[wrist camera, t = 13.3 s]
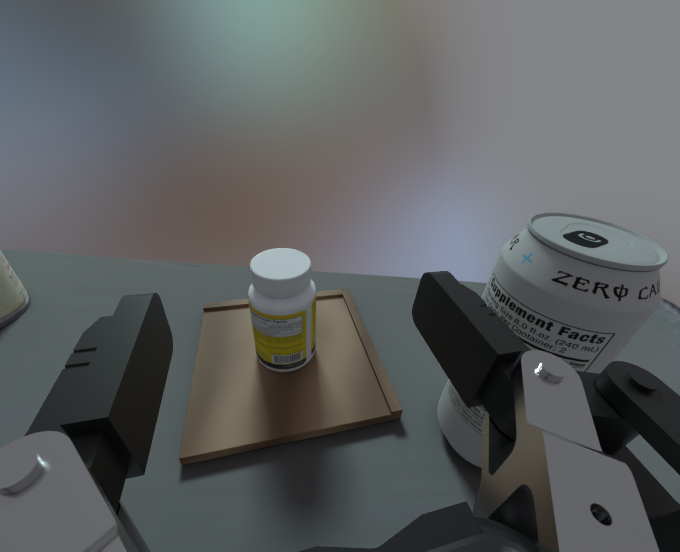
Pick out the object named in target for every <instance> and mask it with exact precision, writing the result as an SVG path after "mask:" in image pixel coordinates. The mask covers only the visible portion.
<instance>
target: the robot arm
mask: <svg viewBox="0 0 680 552" xmlns="http://www.w3.org/2000/svg"><path fill="white" fill-rule="evenodd" d="M412 316H413V320H414V323H415V325H416V327H417V329H418V330H419V332H420V333H421V335H422V337H423V338H424V340H425V341H426V343H427V345H428V346H429V348H430V349H431V351H432V353H433V354H434V356H435V357H436V359H437V360H438V362H439V364H440V365H441V367H442V368H443V370H444V372H445V373H446V375H447V376H448V378H449V380H450V381H451V383H452V384H453V386H454V388H455V389H456V391H457V392H458V394H459V396H460V397H461V399H462V400H463V402H464V404H465V405H466V407H467V408H471V407H476V406H481V405H483V407H484V408H485V410H486V413H485V414H484V417H483V439H482V471H481V483H480V487H479V490H478V493H477V496H476V499H475V503H474V509H473V513H472V511H471V509H470V507H469V505H468V503H467V501H466V502H463V503H459V504H456V505H453V506H449V507H446V508H443V509H439V510H436V511H433V512H429V513H426V514H423V515H421V516H420V517H418V518H417V519H416V520H414V521H413V522H412V523H410V524H409V525H408V526H406V527H405V528H404V529H402V530H401V531H400V532H398V533H397V534H396V535H394V536H393V537H392V538H390V539H389V540H388V541H387V542H385V543H384V544H383V545H381V546H379V547H377V548H373V549H366V548H342V547H318V546H316V547H313V548H309V549H306V550H303V551H299V552H680V504H679V503H678V502H676V501H675V500H674V499H673V497H672V496H671V495H670V494H669V493H668V492H667V491H666V490H665V489H664V488H663V486H662V485H661V484H660V483H659V482H658V481H657V480H656V479H655V478H654V477H653V475H652V474H651V473H650V472H649V471H648V470H647V469H646V468H645V467H644V466H643V464H642V463H641V462H640V461H639V460H638V459H637V458H636V457H635V456H634V455H633V454H632V452H631V451H630V450H629V449H628V448H627V447H626V446H625V445H627V444H628V443H629V442H630V441H632V440H633V439H634V438H635V437H637V436H638V435H639V434H640V435H641V436H642V437H643V438H644V439H645V440H646V441H647V442H648V443H649V444H650V445H651V446H652V447H653V448H654V449H655V450H656V451H657V452H658V453H659V454H660V455H661V456H662V457H663V459H664V460H665V461H666V462H667V463H668V464H669V465H670V466H671V467H672V468H673V469H674V470H675V471H676V472H677V473H678V474H679V475H680V396H679V395H678V394H677V393H675V392H674V391H673V390H672V389H671V388H669V387H668V386H667V385H666V384H665V383H663V382H662V381H661V380H660V379H658V378H657V377H656V376H654V375H653V374H651V373H650V372H648V371H646V370H644V369H642V368H640V367H638V366H636V365H633V364H630V363H627V362H621V361H614V362H611V363H609V364H608V365H607V366H606V367H605V369H604V370H603V371H602V372H601V373H600V374H598V373H591V372H583V371H576V370H574V369H573V368H572V367H571V366H570V365H569V364H568V363H566V362H565V361H563V360H562V359H560V358H559V357H557V356H555V355H553V354H550V353H548V352H544V351H539V350H531V349H530V348H529V347H528V346H527V345H526V344H525V343H524V342H523V341H522V340H521V339H520V338H519V337H518V336H517V335H516V334H515V333H514V332H513V331H512V330H511V329H510V328H509V327H508V326H507V325H506V323H505V322H504V321H503V320H502V319H501V318H500V317H499V316H496V313H495V312H494V311H493V310H492V309H491V308H490V307H489V306H488V307H487V304H486V303H485V302H484V301H483V299H482V298H481V297H480V296H479V295H478V294H477V293H475V292H474V291H472V290H470V289H469V288H467V287H466V286H464V285H461V284H460V283H459V282H458V281H457V280H456V279H455V278H454V276H453V275H452V274H451V273H449V272H448V271H440V272H428V273H424V274H423V276H422V278H421V281H420V284H419V287H418V291H417V294H416V297H415V301H414V304H413V308H412ZM172 351H173V339H172V333H171V330H170V327H169V324H168V321H167V318H166V314H165V311H164V308H163V305H162V302H161V299H160V297H159V295H158V294H157V293H151V294H138V295H126V296H123V297H122V298H121V300H120V302H119V304H118V306H117V308H116V310H115V312H114V314H113V316H107V317H101V318H99V319H98V320H97V321H96V322H95V323H94V324H93V325H92V326H90V327H89V328H88V329H87V330H86V331H85V332H84V333H83V334H82V336H81V338H80V339H79V341H78V343H77V345H76V347H75V348H74V353H73V354H71V355H70V357H69V359H68V361H67V363H66V364H65V369H63V370H62V371H61V373H60V375H59V377H58V379H57V380H56V382H55V384H54V386H53V387H52V389H51V391H50V393H49V394H48V396H47V398H46V400H45V402H44V403H43V405H42V407H41V409H40V410H39V412H38V414H37V416H36V418H35V419H34V421H33V423H32V425H31V426H30V428H29V430H28V431H27V433H26V435H25V436H24V437H22V438H20V439H17V440H15V441H14V442H12V443H10V444H8V445H6V446H5V447H3V448H1V449H0V552H150V550H149V548H148V547H147V545H146V543H145V541H144V540H143V538H142V536H141V535H140V533H139V531H138V530H137V528H136V526H135V524H134V523H133V521H132V519H131V518H130V516H129V514H128V513H127V511H126V509H125V507H124V506H123V504H122V502H121V501H120V497H121V494H122V490H123V486H124V483H125V479H127V478H132V477H137V476H141V475H144V473H145V469H146V465H147V460H148V456H149V452H150V448H151V443H152V439H153V435H154V430H155V426H156V422H157V417H158V413H159V409H160V404H161V400H162V396H163V392H164V387H165V383H166V379H167V374H168V370H169V366H170V361H171V357H172Z"/></svg>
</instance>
